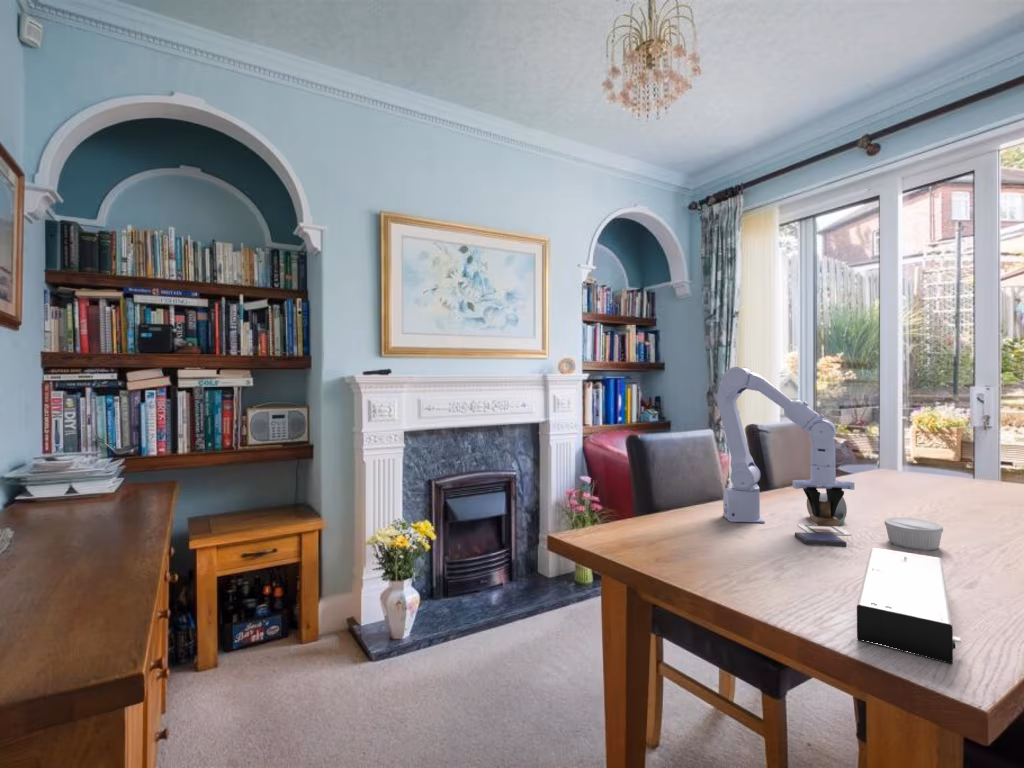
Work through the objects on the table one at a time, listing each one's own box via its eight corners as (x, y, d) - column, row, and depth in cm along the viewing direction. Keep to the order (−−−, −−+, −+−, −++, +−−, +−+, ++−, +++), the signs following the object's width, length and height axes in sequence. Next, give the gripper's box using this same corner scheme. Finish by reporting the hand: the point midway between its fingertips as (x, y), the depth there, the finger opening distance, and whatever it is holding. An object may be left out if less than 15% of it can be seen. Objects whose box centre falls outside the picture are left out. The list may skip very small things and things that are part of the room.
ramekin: (889, 548, 122) (888, 526, 122) (881, 535, 132) (880, 515, 132) (949, 555, 117) (949, 532, 117) (936, 541, 126) (936, 520, 126)
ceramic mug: (804, 515, 152) (804, 489, 152) (834, 515, 151) (834, 489, 151) (822, 525, 141) (822, 498, 141) (853, 526, 140) (853, 498, 140)
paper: (809, 533, 133) (809, 532, 133) (797, 525, 141) (797, 524, 141) (851, 535, 132) (851, 534, 132) (836, 526, 140) (836, 525, 140)
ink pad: (806, 544, 125) (806, 540, 125) (794, 536, 132) (794, 531, 132) (846, 546, 123) (846, 541, 123) (832, 537, 130) (832, 532, 130)
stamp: (817, 525, 134) (817, 502, 134) (810, 520, 139) (809, 498, 139) (838, 526, 133) (838, 503, 133) (830, 521, 138) (830, 499, 138)
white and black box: (871, 576, 105) (870, 546, 105) (949, 591, 98) (949, 559, 98) (857, 644, 79) (856, 604, 79) (963, 671, 71) (963, 627, 71)
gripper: (799, 467, 134) (800, 518, 134) (860, 467, 131) (860, 520, 131) (789, 462, 141) (789, 512, 141) (846, 463, 138) (847, 513, 138)
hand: (823, 515), depth 136 cm, fingers closed on stamp, 3 cm apart
